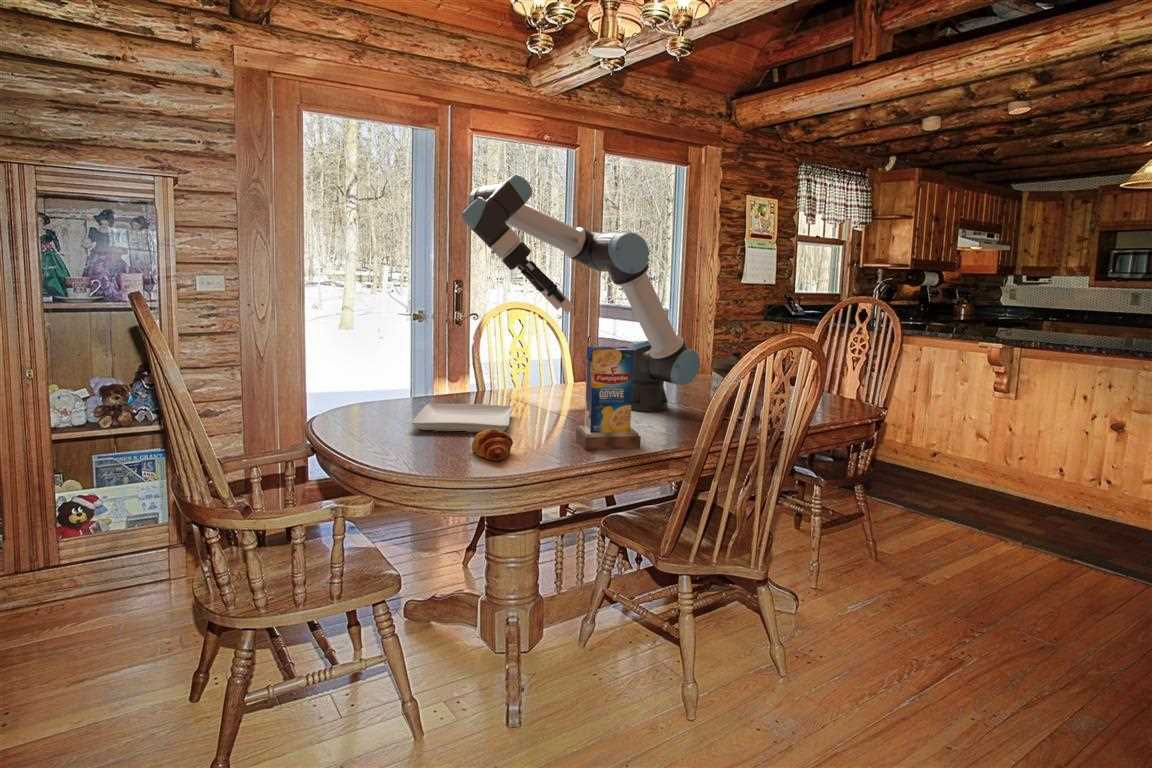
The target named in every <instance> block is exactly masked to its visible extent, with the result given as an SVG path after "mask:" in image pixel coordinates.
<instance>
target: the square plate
mask: <svg viewBox="0 0 1152 768" xmlns="http://www.w3.org/2000/svg"><path fill="white" fill-rule="evenodd" d="M513 411H514V406H513V405H501V404H500V405H498V404H482V403H478V404H477V403H427V404H426V405H425V406H424V407H422V409H421V411H420V412H419V413H418V414H417V415H416V416H415V417H414V418H413V419H412V421H411V424H412V425H413V427H415V428H417V429H419V430H423V431H429V430H436V431H435V432H437V431H467V432H466V433H477V432H480V431H482V430H488V429H498V430H501V431H503V432H505V431H506V429H507V428H508V427H509V426H510V421H511V420H510V419H511V415H512V412H513Z"/></svg>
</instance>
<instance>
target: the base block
mask: <svg viewBox="0 0 1152 768" xmlns="http://www.w3.org/2000/svg"><path fill="white" fill-rule="evenodd" d="M575 430H576V431H575V440H576V442H578V444H579V445H580V446H581V447H582V448H583V449H584V450H585V451H593V450H596V449H602V450H627V449H629V450H632V449H635V450H637V449H641V441H642V438H641V437H642V436H641V435H639V432H638V431H636V430H635V429H634V428H632V426H630V432H608V433H590V432H589V431H588V430H587V429H586V428H585V425H578V428H576V429H575Z"/></svg>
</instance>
